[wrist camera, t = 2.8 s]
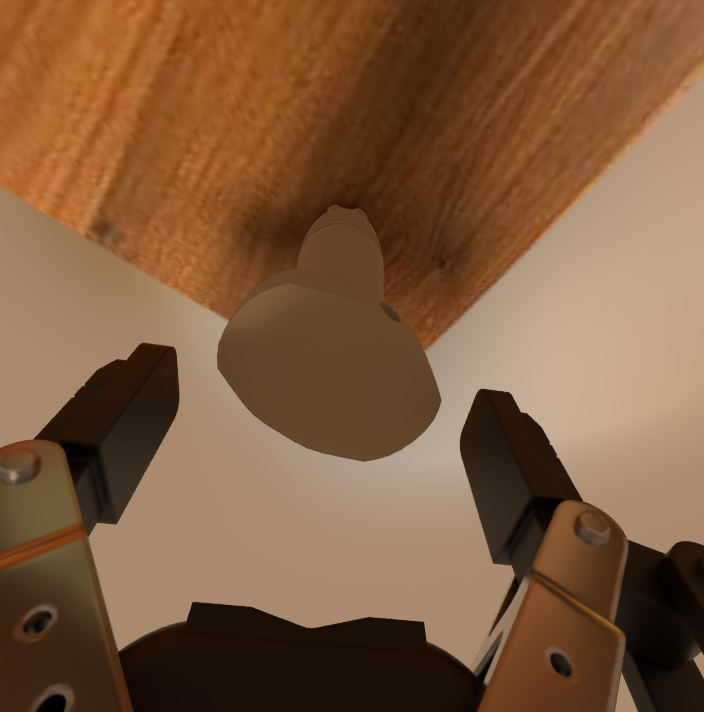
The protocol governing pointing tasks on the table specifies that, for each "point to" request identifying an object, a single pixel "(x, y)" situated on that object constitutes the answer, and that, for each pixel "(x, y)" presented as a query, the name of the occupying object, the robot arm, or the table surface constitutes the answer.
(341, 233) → the handle
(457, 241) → the table surface
